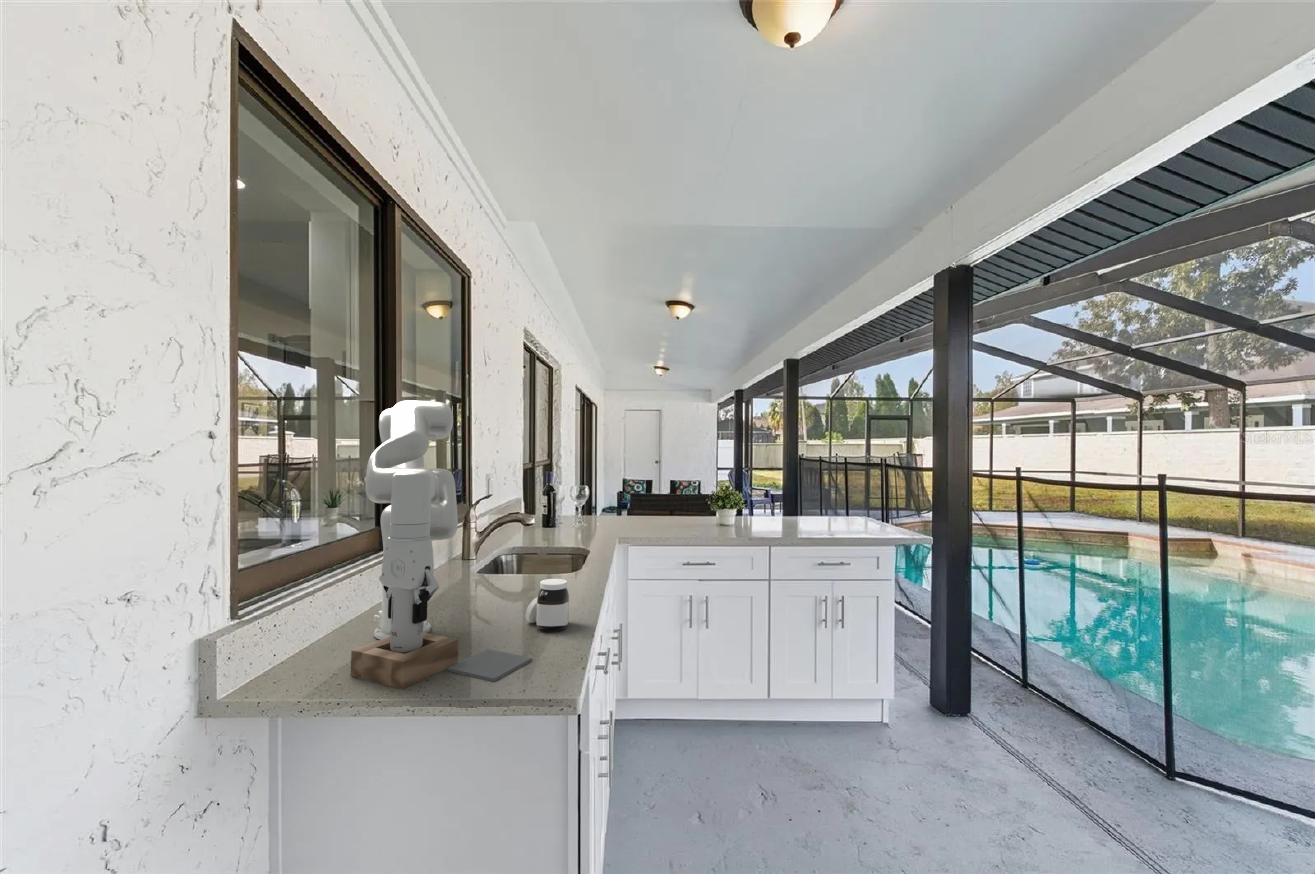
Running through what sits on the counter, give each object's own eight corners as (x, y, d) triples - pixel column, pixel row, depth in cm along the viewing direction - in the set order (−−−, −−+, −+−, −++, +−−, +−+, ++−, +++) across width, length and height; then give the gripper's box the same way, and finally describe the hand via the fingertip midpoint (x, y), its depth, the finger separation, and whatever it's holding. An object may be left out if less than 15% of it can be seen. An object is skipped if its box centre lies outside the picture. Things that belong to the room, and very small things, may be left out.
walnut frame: (350, 675, 107) (351, 650, 107) (408, 652, 120) (409, 629, 120) (402, 689, 101) (403, 662, 102) (457, 663, 114) (458, 639, 114)
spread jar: (564, 634, 134) (565, 586, 134) (518, 633, 134) (519, 585, 135) (572, 619, 146) (573, 575, 146) (530, 618, 146) (531, 575, 147)
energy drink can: (391, 647, 113) (393, 575, 113) (422, 644, 115) (425, 573, 115) (388, 658, 107) (391, 582, 108) (421, 654, 110) (424, 580, 110)
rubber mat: (447, 670, 110) (447, 667, 110) (487, 651, 121) (487, 649, 121) (494, 681, 105) (494, 678, 105) (531, 660, 116) (532, 657, 116)
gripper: (364, 530, 112) (361, 618, 111) (427, 537, 105) (424, 631, 105) (395, 525, 119) (392, 608, 118) (456, 532, 112) (453, 620, 111)
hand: (407, 618), depth 111 cm, fingers closed on energy drink can, 6 cm apart
